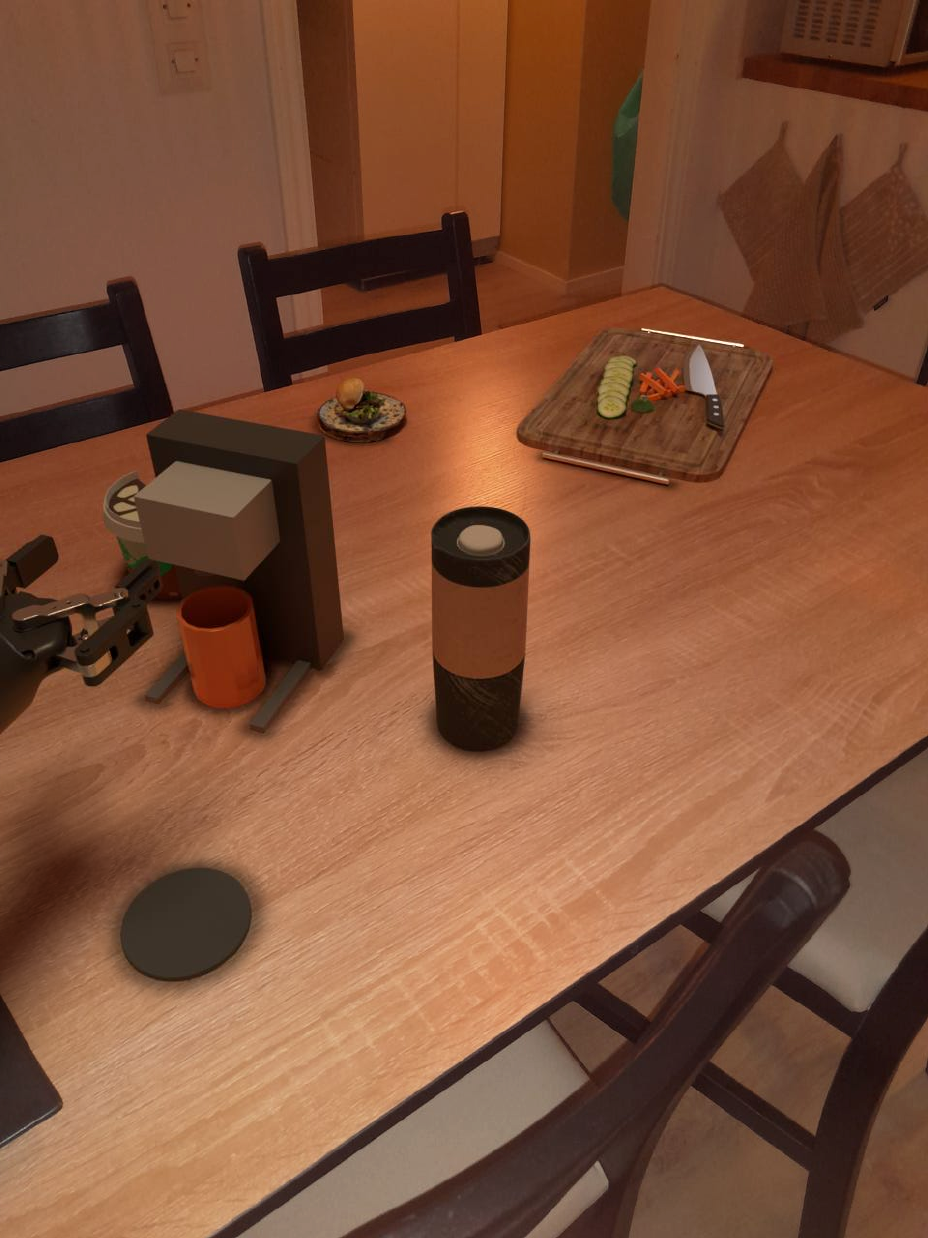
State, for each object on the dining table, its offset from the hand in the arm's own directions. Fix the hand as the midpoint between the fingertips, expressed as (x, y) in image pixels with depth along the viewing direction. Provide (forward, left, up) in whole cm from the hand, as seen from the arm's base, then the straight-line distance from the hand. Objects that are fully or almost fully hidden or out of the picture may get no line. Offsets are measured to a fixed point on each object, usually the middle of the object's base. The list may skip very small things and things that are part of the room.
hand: (102, 557), depth 67 cm
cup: (-2, +11, -21) cm, 24 cm away
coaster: (+12, -10, -21) cm, 27 cm away
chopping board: (+10, +86, -22) cm, 89 cm away
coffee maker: (-2, +13, -21) cm, 25 cm away
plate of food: (-21, +60, -22) cm, 67 cm away
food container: (-19, +19, -22) cm, 34 cm away
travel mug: (+20, +18, -22) cm, 35 cm away
